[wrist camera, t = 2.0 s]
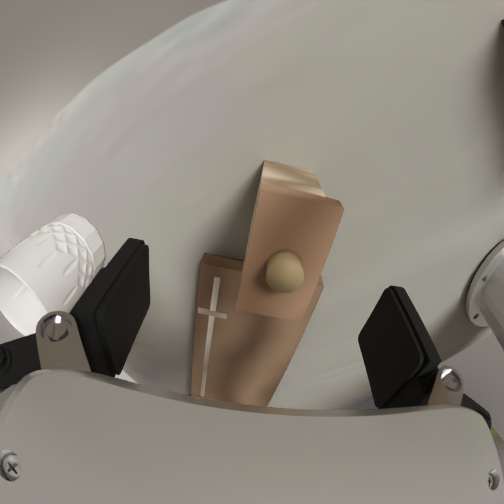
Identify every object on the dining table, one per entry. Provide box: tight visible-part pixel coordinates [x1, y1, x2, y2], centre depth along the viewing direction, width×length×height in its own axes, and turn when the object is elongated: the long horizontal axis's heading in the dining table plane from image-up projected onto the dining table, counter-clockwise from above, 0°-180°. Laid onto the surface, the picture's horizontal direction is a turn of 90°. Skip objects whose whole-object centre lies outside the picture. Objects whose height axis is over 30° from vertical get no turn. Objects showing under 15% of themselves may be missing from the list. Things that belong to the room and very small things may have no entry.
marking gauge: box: [235, 160, 344, 321], centre depth 16 cm, size 4×6×10 cm, turn 169°
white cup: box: [0, 213, 105, 336], centre depth 20 cm, size 8×8×10 cm
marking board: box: [191, 253, 324, 407], centre depth 30 cm, size 10×28×2 cm, turn 169°
